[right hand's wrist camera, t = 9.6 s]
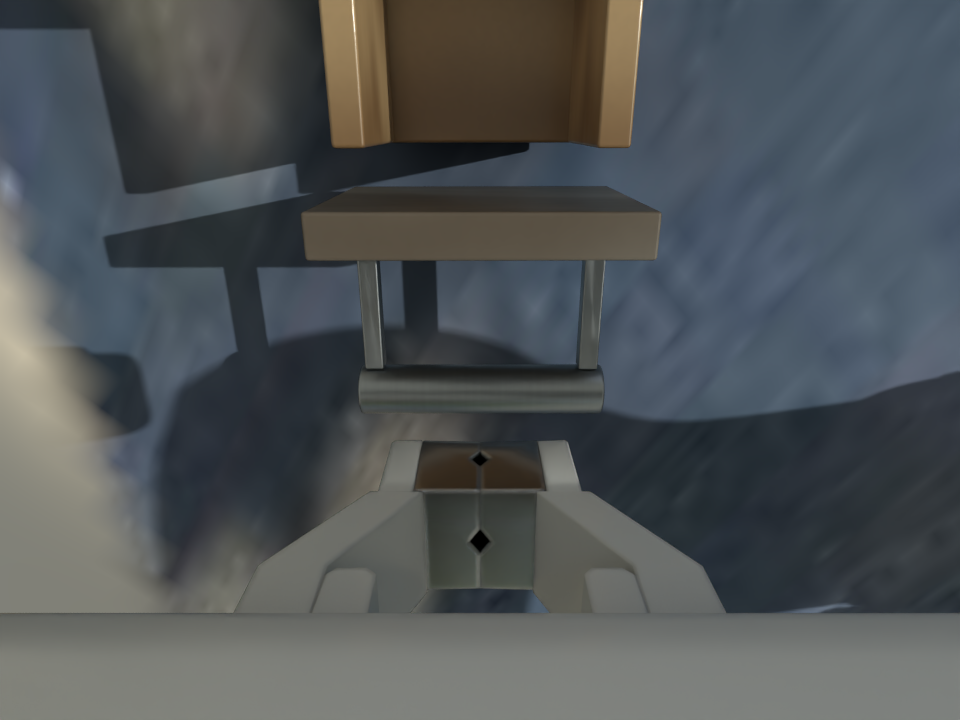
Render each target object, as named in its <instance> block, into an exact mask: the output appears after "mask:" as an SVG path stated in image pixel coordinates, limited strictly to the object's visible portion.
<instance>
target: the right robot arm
mask: <svg viewBox="0 0 960 720" xmlns="http://www.w3.org/2000/svg"><path fill="white" fill-rule="evenodd" d="M470 588H488V589H525V590H533V593H534V594H535V595H536V596H537V598H538V599H539V600H540V601H541V603H542V604H543V605H544V606H545V607H546V609H547V610H548V611H549V612H550V613H411V612H412V610H413V609H414V608H415V607H416V605H417V604H418V603H419V602H420V601H421V599H422V598H423V597H424V596H425V595H426V593H427V590H434V589H470ZM0 720H960V613H726V611H725V609H724V607H723V605H722V603H721V601H720V599H719V597H718V595H717V593H716V591H715V589H714V587H713V586H712V584H711V582H710V580H709V578H708V576H707V574H706V572H705V570H704V568H703V566H702V565H700V564H699V563H697V562H696V561H694V560H693V559H691V558H690V557H688V556H687V555H685V554H684V553H682V552H681V551H679V550H678V549H676V548H675V547H673V546H672V545H670V544H669V543H667V542H665V541H664V540H662V539H661V538H659V537H658V536H656V535H655V534H653V533H652V532H650V531H649V530H647V529H646V528H644V527H643V526H641V525H640V524H638V523H637V522H635V521H634V520H632V519H631V518H629V517H628V516H626V515H625V514H623V513H622V512H620V511H619V510H617V509H616V508H614V507H613V506H611V505H610V504H608V503H607V502H605V501H604V500H602V499H601V498H599V497H598V496H596V495H595V494H593V493H592V492H590V491H582V490H581V487H580V483H579V480H578V476H577V473H576V469H575V466H574V462H573V459H572V455H571V452H570V448H569V445H568V442H567V441H565V440H553V441H503V442H465V441H422V440H406V441H394V442H393V443H392V444H391V448H390V451H389V455H388V458H387V462H386V466H385V469H384V473H383V476H382V480H381V483H380V487H379V490H378V491H370V492H368V493H367V494H365V495H364V496H362V497H361V498H359V499H358V500H356V501H355V502H353V503H352V504H350V505H349V506H347V507H346V508H344V509H343V510H341V511H340V512H338V513H337V514H335V515H334V516H332V517H331V518H329V519H328V520H326V521H324V522H323V523H321V524H320V525H318V526H317V527H315V528H314V529H312V530H311V531H309V532H308V533H306V534H305V535H303V536H302V537H300V538H299V539H297V540H296V541H294V542H293V543H291V544H290V545H288V546H287V547H285V548H284V549H282V550H281V551H279V552H278V553H276V554H274V555H273V556H271V557H270V558H268V559H267V560H265V561H264V562H262V563H261V564H259V565H258V566H257V568H256V570H255V572H254V574H253V576H252V578H251V580H250V582H249V584H248V586H247V588H246V590H245V592H244V594H243V596H242V598H241V600H240V601H239V603H238V605H237V607H236V609H235V611H234V613H0Z"/></svg>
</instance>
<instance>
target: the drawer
mask: <svg viewBox="0 0 960 720" xmlns="http://www.w3.org/2000/svg"><path fill="white" fill-rule="evenodd" d="M319 9H320V21H321V32H322V43H323V54H324V65H325V77H326V88H327V99H328V110H329V121H330V133H331V144H332V146H333V147H334V148H366V147H371V146H377V145H382V144H387V143H498V142H570V143H576V144H581V145H587V146H592V147H598V148H628V147H630V145H631V136H632V125H633V113H634V102H635V90H636V79H637V67H638V56H639V45H640V33H641V22H642V10H643V0H319ZM661 216H662V214H661V212H659V211H657V210H655V209H653V208H651V207H649V206H647V205H645V204H642V203H640V202H638V201H636V200H634V199H632V198H630V197H628V196H626V195H624V194H622V193H619V192H617V191H615V190H613V189H611V188H609V187H607V186H479V187H354V188H352V189H350V190H348V191H346V192H344V193H342V194H339V195H337V196H335V197H333V198H331V199H329V200H327V201H325V202H323V203H321V204H319V205H317V206H315V207H313V208H311V209H309V210H306V211H304V212H302V213H301V223H302V231H303V240H304V249H305V258H306V260H308V261H357V267H358V280H359V292H360V305H361V317H362V330H363V342H364V355H365V365H363V366H362V368H361V370H360V374H359V381H358V399H359V406H360V409H361V411H362V413H600V412H601V410H602V407H603V403H604V376H603V371H602V369H601V366H600V365H597V362H598V350H599V337H600V324H601V311H602V298H603V285H604V273H605V260H655V259H656V258H657V253H658V244H659V235H660V226H661ZM527 260H582V274H581V290H580V306H579V321H578V337H577V353H576V363H577V364H556V365H385V364H386V349H385V334H384V318H383V303H382V288H381V273H380V261H527Z"/></svg>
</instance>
